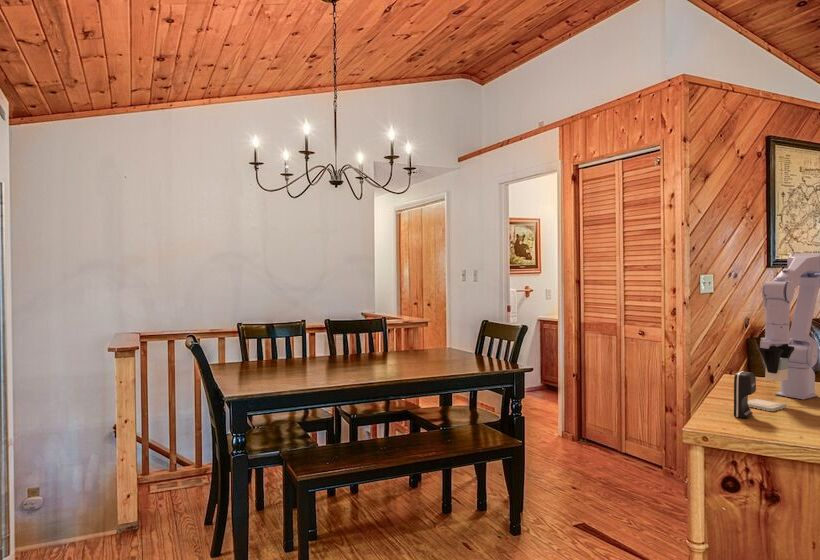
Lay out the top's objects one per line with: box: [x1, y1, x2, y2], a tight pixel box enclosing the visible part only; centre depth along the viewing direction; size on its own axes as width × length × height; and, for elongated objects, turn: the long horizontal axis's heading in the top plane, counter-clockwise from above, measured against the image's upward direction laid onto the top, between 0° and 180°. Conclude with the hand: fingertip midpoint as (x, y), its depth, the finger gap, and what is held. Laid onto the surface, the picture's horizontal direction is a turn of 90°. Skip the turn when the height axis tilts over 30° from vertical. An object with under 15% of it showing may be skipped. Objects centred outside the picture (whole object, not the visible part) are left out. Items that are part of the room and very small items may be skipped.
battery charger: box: [733, 370, 757, 419], centre depth 149 cm, size 7×4×11 cm, turn 137°
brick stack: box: [764, 357, 788, 382], centre depth 162 cm, size 4×4×6 cm
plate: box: [748, 398, 787, 412], centre depth 159 cm, size 8×8×1 cm
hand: (776, 372), depth 162 cm, fingers closed on brick stack, 4 cm apart
